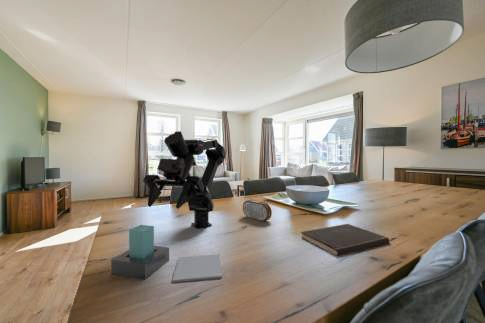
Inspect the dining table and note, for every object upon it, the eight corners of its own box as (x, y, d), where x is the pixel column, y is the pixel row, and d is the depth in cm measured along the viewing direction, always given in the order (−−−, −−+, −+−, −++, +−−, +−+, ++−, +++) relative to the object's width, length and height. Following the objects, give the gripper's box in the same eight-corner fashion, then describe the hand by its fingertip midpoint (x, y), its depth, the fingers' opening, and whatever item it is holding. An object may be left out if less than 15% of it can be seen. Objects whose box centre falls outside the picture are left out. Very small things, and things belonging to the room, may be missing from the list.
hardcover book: (300, 238, 75) (300, 231, 75) (347, 229, 84) (347, 223, 84) (337, 258, 60) (337, 250, 60) (389, 245, 69) (389, 237, 69)
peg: (141, 262, 56) (140, 224, 56) (154, 264, 55) (153, 226, 55) (129, 269, 53) (129, 229, 52) (143, 272, 52) (142, 231, 51)
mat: (178, 258, 58) (178, 257, 58) (219, 255, 60) (219, 254, 60) (172, 282, 47) (172, 280, 47) (221, 277, 49) (221, 275, 49)
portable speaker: (272, 222, 91) (272, 202, 91) (267, 223, 89) (267, 203, 89) (246, 215, 102) (246, 198, 102) (241, 216, 99) (241, 199, 99)
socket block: (139, 256, 60) (139, 243, 60) (169, 260, 57) (169, 247, 57) (111, 274, 51) (111, 259, 51) (145, 279, 48) (144, 264, 48)
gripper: (146, 149, 68) (119, 189, 58) (200, 149, 64) (181, 192, 53) (161, 172, 76) (140, 210, 66) (210, 173, 72) (195, 214, 61)
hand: (162, 206), depth 61 cm, fingers open, 9 cm apart
